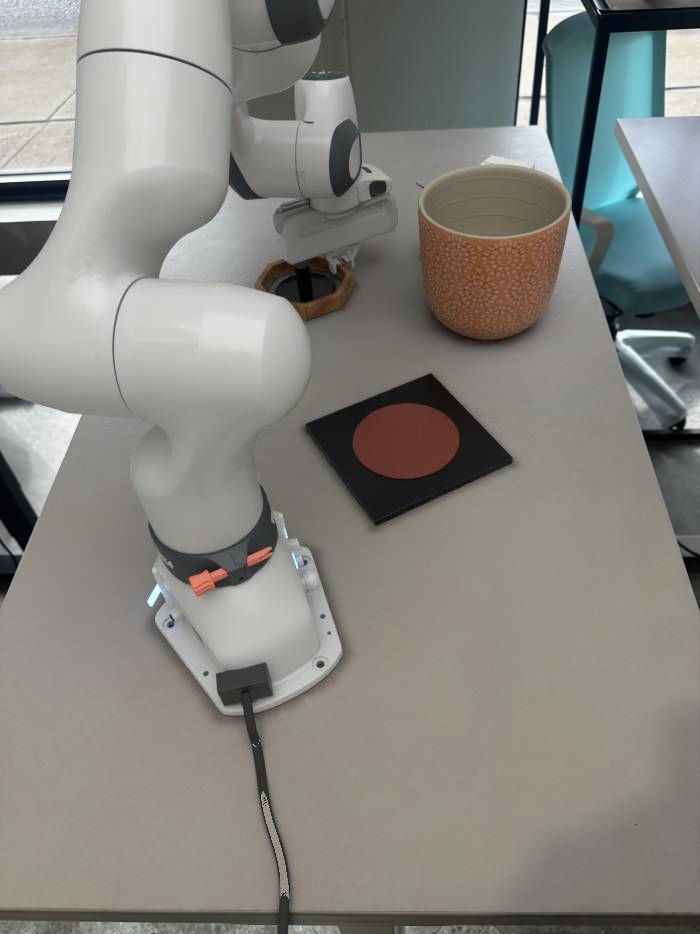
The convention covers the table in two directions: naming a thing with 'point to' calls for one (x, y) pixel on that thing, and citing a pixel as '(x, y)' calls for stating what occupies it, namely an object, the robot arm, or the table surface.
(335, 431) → the hob plate
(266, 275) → the hoop
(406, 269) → the table surface
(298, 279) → the peg stand
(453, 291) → the planter
